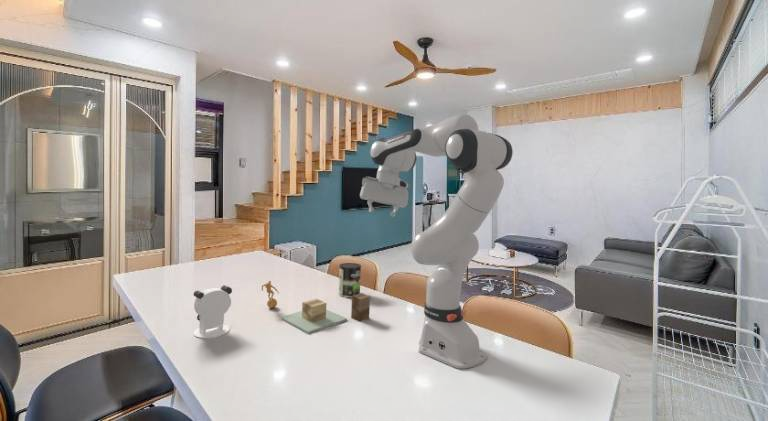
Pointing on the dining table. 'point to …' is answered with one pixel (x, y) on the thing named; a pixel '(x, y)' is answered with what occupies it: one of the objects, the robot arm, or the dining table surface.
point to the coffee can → (349, 279)
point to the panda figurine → (212, 311)
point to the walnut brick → (360, 307)
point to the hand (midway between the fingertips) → (381, 214)
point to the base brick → (314, 310)
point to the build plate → (311, 327)
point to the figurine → (271, 301)
